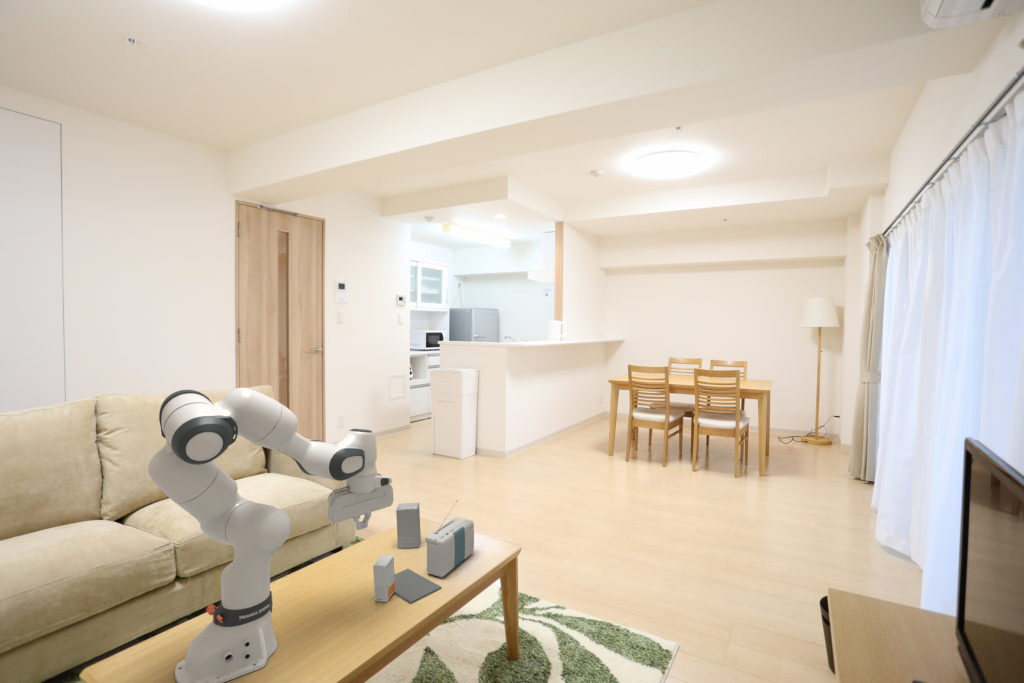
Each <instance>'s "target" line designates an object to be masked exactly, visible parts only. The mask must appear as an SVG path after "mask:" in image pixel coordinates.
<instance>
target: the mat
mask: <svg viewBox="0 0 1024 683" xmlns="http://www.w3.org/2000/svg"><path fill="white" fill-rule="evenodd" d="M439 590H442V586H441V585H439V584H437V583H435V582H434V581H431V580H430V579H428V578H426V577H425V576H423V575H421V574H420V573H419V574H418V573H417V572H415V571H413V570H412V569H410V568H406V569H403V570H401V571H399V572H396V573H395V592H394V593H393V595H395V596H397V597H399V598H401V599H403V600H404V601H406V602H407V603H408V604H410V605H411V604H413V603H416V602H417V601H419V600H422V599H423V598H426V597H427V596H429V595H432V594H434V593H436V592H437V591H439Z"/></svg>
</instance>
